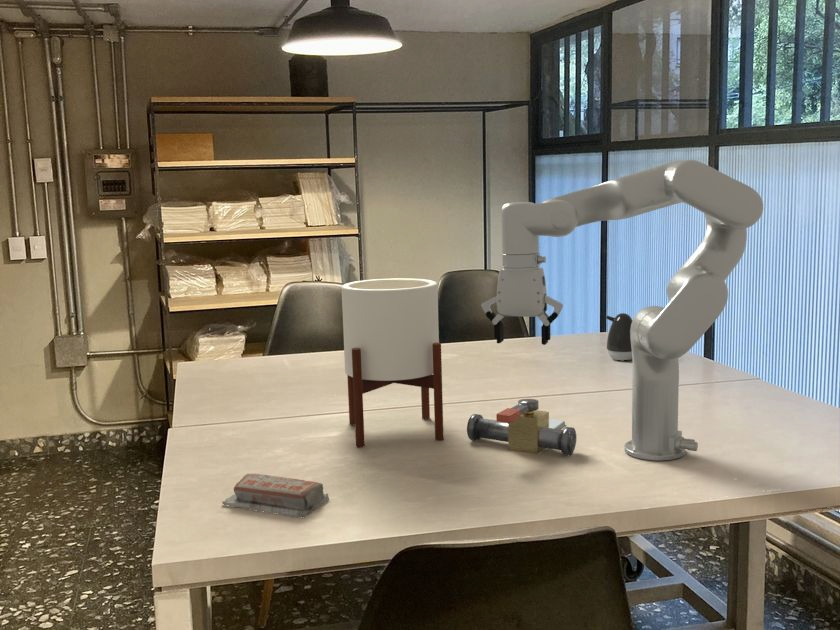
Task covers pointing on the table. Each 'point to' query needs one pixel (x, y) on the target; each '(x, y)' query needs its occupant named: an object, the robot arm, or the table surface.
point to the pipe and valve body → (524, 433)
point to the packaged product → (277, 495)
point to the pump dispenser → (620, 337)
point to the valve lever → (517, 410)
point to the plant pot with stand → (392, 343)
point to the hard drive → (556, 423)
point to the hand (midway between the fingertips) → (522, 342)
